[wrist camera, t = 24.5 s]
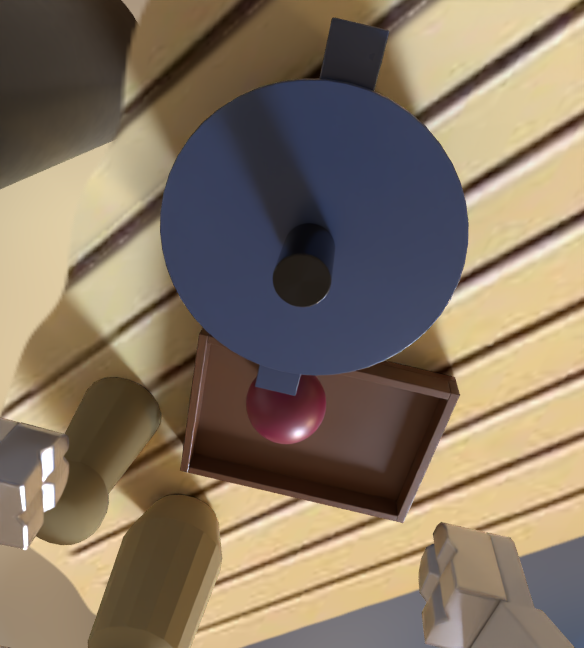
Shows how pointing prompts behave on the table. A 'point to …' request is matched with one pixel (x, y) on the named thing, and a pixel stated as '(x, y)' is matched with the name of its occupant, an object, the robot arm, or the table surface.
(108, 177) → the table surface
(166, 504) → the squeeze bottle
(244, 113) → the lid
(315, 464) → the tray
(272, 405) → the beet
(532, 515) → the table surface
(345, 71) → the pot
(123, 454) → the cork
